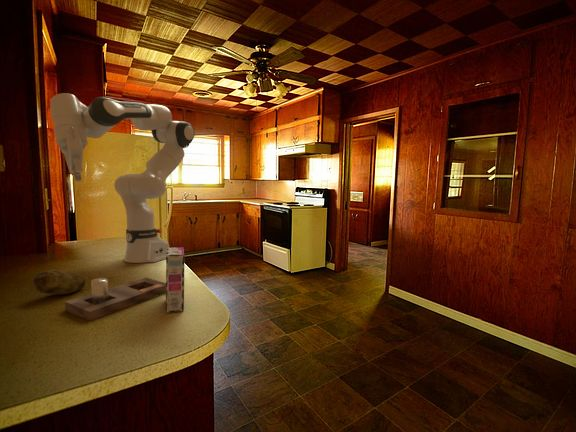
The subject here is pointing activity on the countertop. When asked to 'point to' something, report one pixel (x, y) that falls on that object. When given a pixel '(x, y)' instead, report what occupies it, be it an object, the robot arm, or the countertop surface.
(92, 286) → the metal peg
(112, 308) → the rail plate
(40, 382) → the countertop surface
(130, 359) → the countertop surface
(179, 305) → the candy bar box
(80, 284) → the potato
